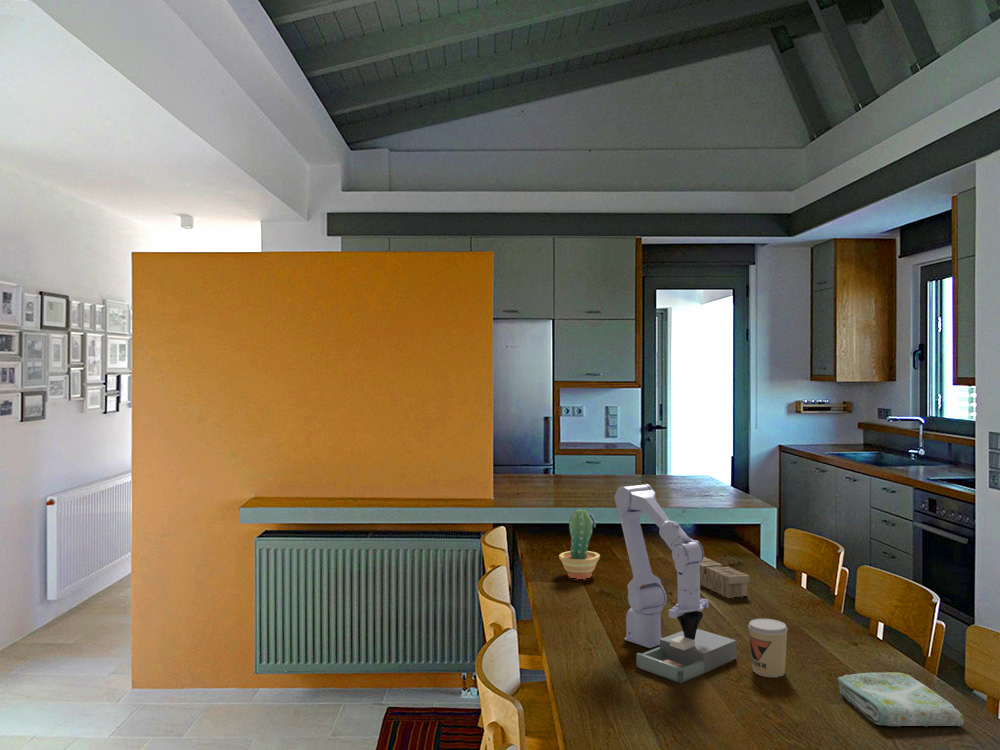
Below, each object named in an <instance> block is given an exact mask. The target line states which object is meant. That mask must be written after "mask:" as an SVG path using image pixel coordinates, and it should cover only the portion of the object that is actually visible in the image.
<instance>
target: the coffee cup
mask: <svg viewBox="0 0 1000 750" xmlns="http://www.w3.org/2000/svg"><path fill="white" fill-rule="evenodd" d="M747 627H748V631H749V633H748V634H749V636H748V637H749V644H750V646H749V647H750V658H751V667H752V671H753V672H755V673H754V674H756V675H758V676H762V677H766V678H780V677H783V676H784V675H785V673H786V672H785V671H786V661H787V660H786V658H787V643H788V642H787V639H788V638H787V637H788V636H787V635H788V627H787V625H786V623H784V622H782V621H781V620H777V619H772V618H755V619H752V620H750V621H749V623H748V626H747ZM779 676H780V677H779Z"/></svg>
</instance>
